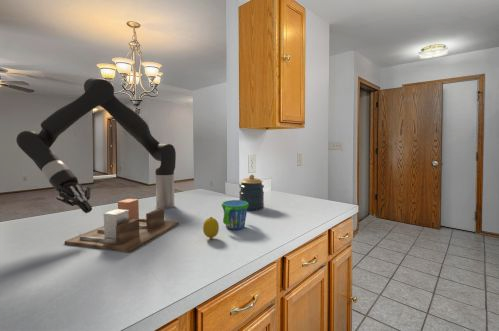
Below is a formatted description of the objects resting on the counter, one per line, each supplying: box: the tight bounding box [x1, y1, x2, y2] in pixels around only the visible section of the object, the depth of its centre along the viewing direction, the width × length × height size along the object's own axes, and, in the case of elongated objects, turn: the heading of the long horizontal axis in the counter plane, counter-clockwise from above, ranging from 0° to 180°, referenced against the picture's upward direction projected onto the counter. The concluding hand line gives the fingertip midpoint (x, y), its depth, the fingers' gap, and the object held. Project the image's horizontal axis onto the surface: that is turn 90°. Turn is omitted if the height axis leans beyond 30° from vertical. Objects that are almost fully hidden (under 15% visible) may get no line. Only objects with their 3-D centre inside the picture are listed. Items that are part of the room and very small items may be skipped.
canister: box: [238, 174, 265, 212], centre depth 141 cm, size 13×13×18 cm
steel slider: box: [103, 208, 129, 239], centre depth 94 cm, size 5×6×9 cm
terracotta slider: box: [117, 198, 140, 220], centre depth 111 cm, size 5×6×9 cm
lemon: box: [202, 216, 220, 240], centre depth 97 cm, size 6×6×8 cm
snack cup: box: [221, 199, 249, 231], centre depth 109 cm, size 16×10×10 cm
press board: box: [64, 208, 180, 253], centre depth 102 cm, size 26×30×7 cm
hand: (89, 211), depth 96 cm, fingers closed
